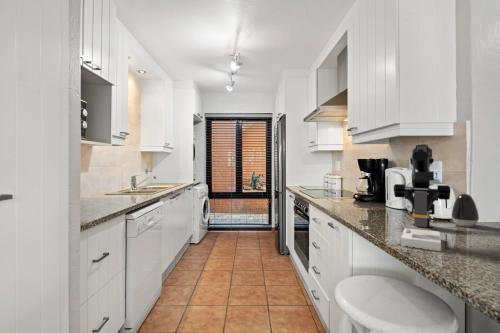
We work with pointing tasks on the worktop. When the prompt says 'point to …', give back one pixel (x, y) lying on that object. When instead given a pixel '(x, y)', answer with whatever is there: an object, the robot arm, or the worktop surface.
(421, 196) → the plug
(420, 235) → the socket block
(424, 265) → the worktop surface
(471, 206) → the black egg-shaped dome
